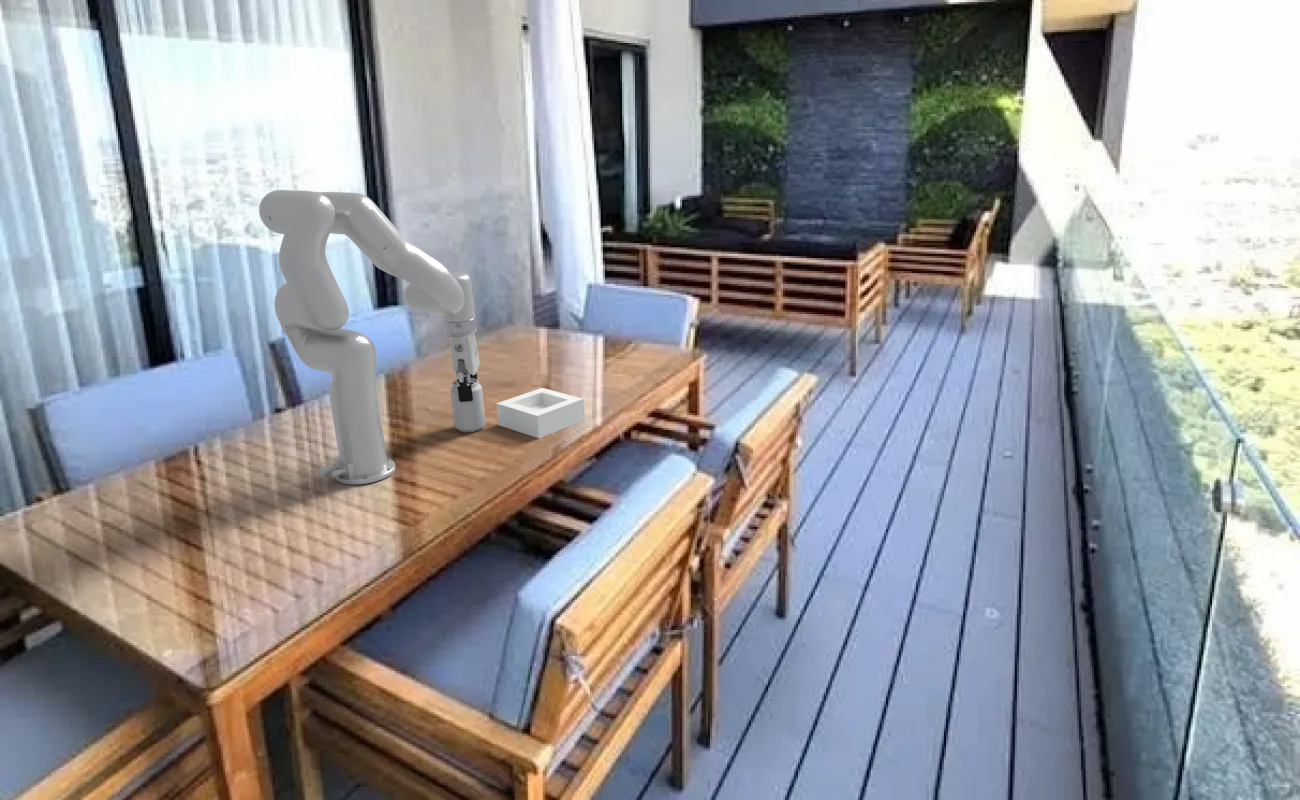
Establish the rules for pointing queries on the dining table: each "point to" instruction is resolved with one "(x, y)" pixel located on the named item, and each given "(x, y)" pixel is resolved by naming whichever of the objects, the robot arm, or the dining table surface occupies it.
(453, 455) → the dining table surface
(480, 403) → the can
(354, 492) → the dining table surface
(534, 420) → the riser
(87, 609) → the dining table surface
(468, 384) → the robot arm
